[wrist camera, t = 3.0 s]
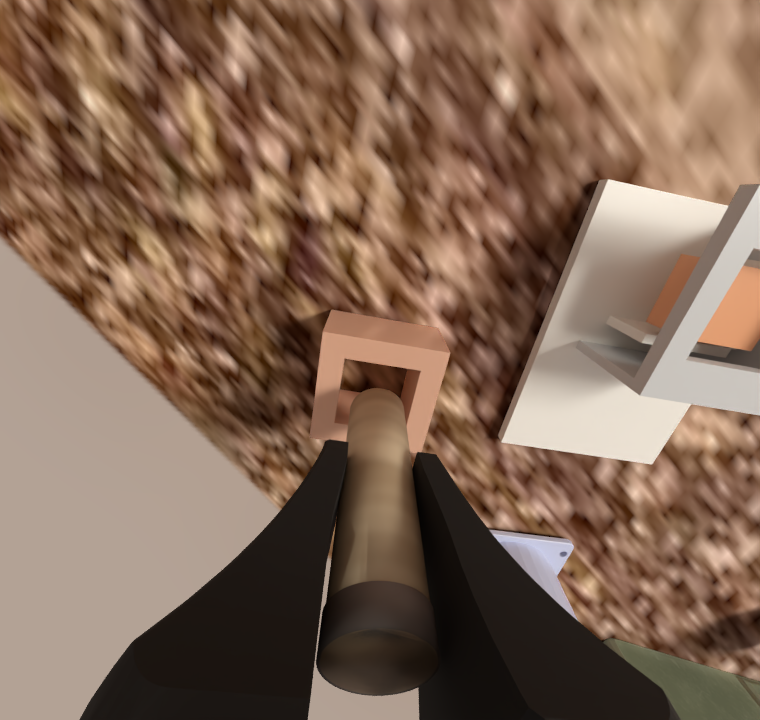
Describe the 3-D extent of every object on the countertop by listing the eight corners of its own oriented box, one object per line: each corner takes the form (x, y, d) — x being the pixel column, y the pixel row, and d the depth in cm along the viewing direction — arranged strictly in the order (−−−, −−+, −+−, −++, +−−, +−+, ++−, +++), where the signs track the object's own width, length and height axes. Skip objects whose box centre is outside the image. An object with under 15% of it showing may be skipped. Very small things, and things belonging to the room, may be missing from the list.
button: (705, 332, 15) (751, 351, 13) (645, 321, 15) (683, 338, 13) (745, 267, 14) (801, 277, 12) (681, 254, 14) (728, 262, 12)
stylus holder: (414, 416, 19) (421, 453, 16) (319, 402, 19) (309, 437, 16) (438, 328, 17) (450, 353, 14) (331, 309, 17) (322, 331, 14)
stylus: (399, 438, 15) (424, 699, 7) (344, 430, 15) (310, 690, 7) (410, 391, 14) (455, 633, 6) (353, 382, 14) (323, 620, 6)
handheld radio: (746, 697, 33) (530, 636, 28) (774, 679, 32) (554, 612, 27) (833, 808, 27) (575, 753, 22) (871, 789, 26) (608, 728, 21)
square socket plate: (644, 457, 20) (723, 533, 16) (497, 435, 20) (535, 508, 15) (792, 222, 15) (976, 233, 11) (599, 180, 14) (706, 171, 10)
